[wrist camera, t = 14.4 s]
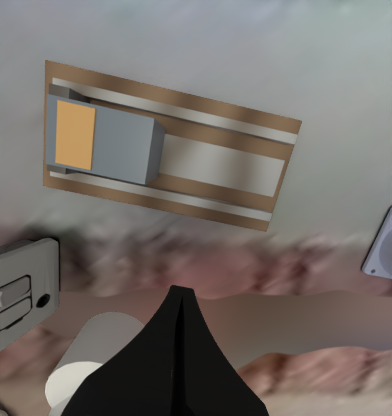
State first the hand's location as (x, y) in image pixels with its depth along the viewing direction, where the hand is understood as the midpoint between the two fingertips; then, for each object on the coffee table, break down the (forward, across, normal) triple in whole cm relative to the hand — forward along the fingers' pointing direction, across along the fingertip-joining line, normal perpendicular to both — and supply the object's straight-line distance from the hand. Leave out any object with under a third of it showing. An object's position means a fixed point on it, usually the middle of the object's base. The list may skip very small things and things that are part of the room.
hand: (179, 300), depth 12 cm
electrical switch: (+10, +16, +8) cm, 21 cm away
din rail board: (+10, +4, -8) cm, 13 cm away
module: (+9, +8, -8) cm, 14 cm away
